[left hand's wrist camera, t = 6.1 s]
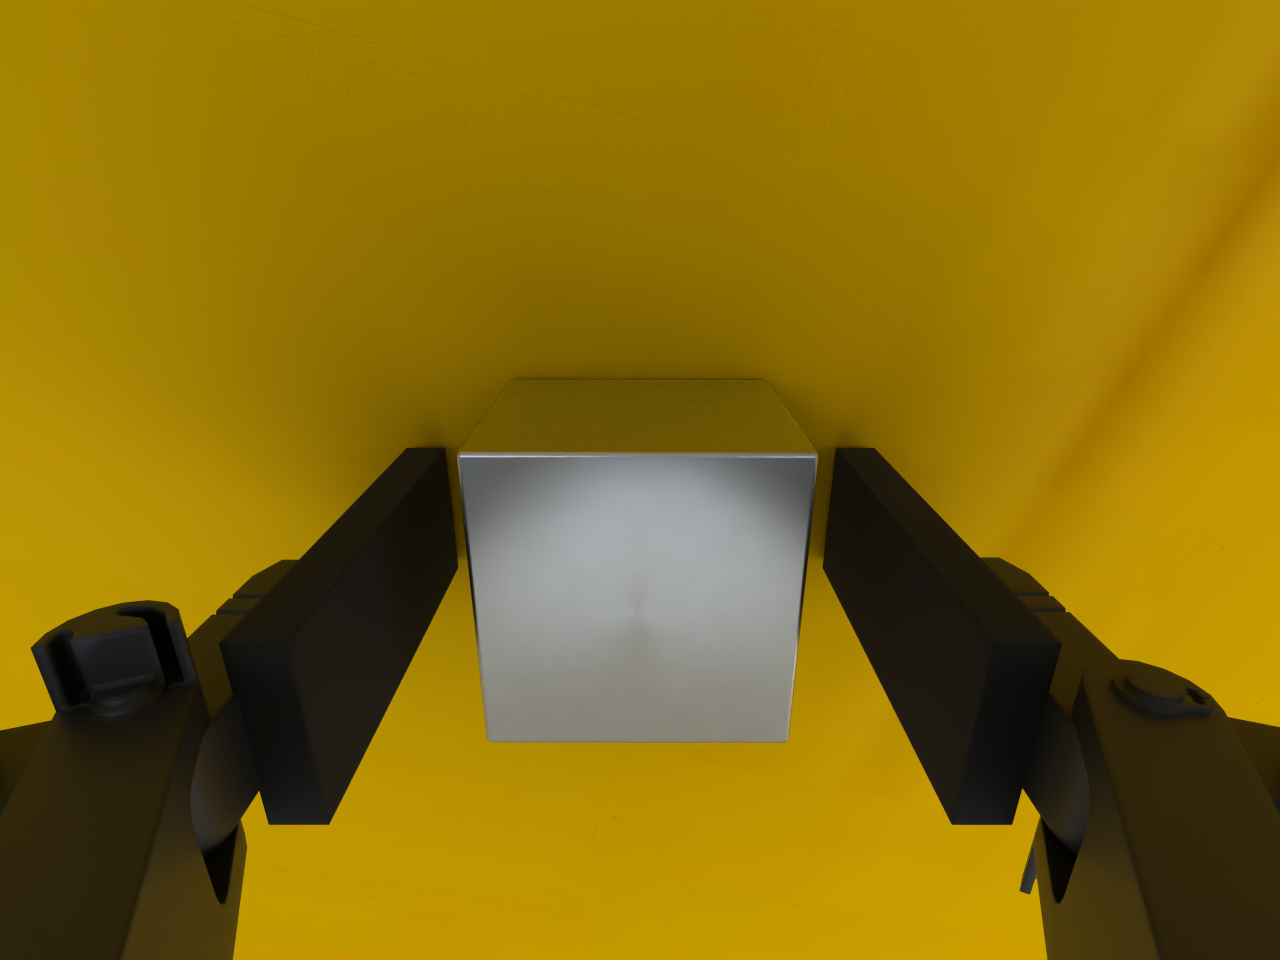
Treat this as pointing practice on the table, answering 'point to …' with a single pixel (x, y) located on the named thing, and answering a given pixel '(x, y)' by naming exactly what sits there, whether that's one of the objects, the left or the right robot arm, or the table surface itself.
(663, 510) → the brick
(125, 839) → the left robot arm
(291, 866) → the table surface
